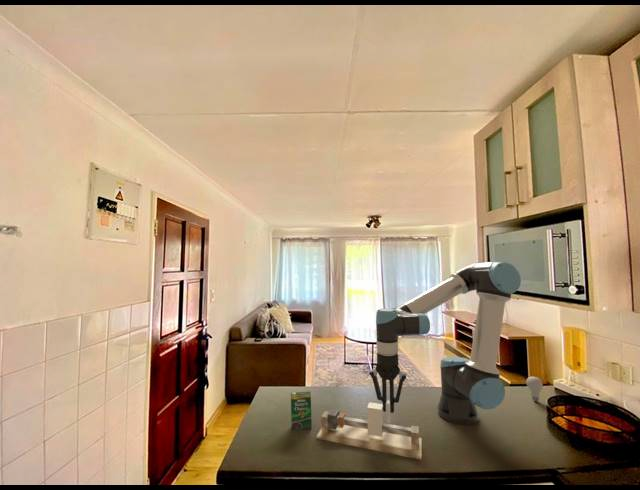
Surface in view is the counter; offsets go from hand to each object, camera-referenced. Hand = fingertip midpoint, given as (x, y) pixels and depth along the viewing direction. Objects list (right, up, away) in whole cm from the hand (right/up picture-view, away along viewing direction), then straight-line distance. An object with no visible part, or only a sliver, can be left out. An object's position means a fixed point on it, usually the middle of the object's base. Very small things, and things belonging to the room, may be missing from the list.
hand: (388, 421), depth 102 cm
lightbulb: (+74, -10, +30) cm, 81 cm away
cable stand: (-7, -8, +2) cm, 10 cm away
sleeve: (-4, -5, +1) cm, 7 cm away
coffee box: (-32, -9, +10) cm, 34 cm away
